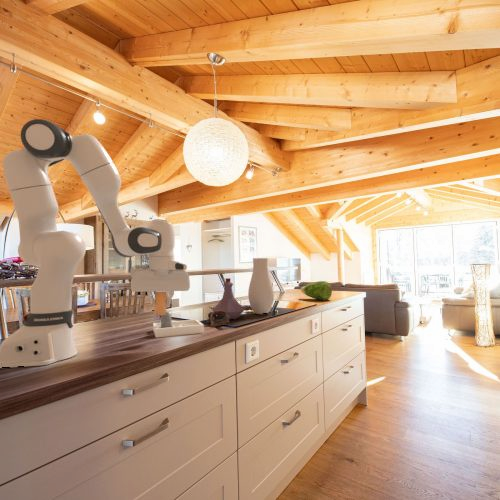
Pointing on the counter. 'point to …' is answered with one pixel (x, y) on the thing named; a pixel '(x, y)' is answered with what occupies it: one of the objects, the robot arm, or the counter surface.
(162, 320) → the charcoal jaw peg
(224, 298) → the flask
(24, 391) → the counter surface
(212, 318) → the pottery mug
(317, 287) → the lettuce
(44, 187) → the robot arm
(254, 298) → the vase
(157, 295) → the orange cylinder
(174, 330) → the housing
